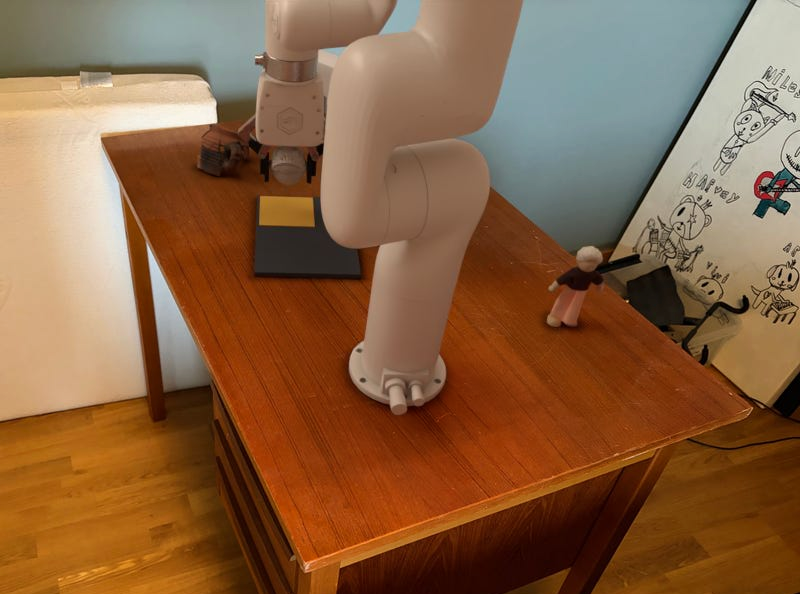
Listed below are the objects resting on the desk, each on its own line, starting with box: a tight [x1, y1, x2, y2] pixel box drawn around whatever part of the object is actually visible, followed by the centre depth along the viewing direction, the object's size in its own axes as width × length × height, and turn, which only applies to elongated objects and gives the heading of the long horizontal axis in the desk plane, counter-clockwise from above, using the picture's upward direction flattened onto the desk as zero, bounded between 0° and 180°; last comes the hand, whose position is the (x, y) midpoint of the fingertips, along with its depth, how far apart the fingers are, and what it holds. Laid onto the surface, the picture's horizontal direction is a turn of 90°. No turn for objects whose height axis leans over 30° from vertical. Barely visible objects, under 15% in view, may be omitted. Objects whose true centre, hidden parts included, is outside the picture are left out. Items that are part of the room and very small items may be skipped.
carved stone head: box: [269, 146, 307, 186], centre depth 109 cm, size 6×7×7 cm
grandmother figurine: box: [546, 245, 605, 328], centre depth 96 cm, size 8×4×13 cm, turn 105°
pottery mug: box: [196, 123, 251, 177], centre depth 125 cm, size 12×10×8 cm
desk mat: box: [253, 195, 362, 280], centre depth 111 cm, size 22×16×1 cm
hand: (287, 177), depth 111 cm, fingers closed on carved stone head, 6 cm apart
